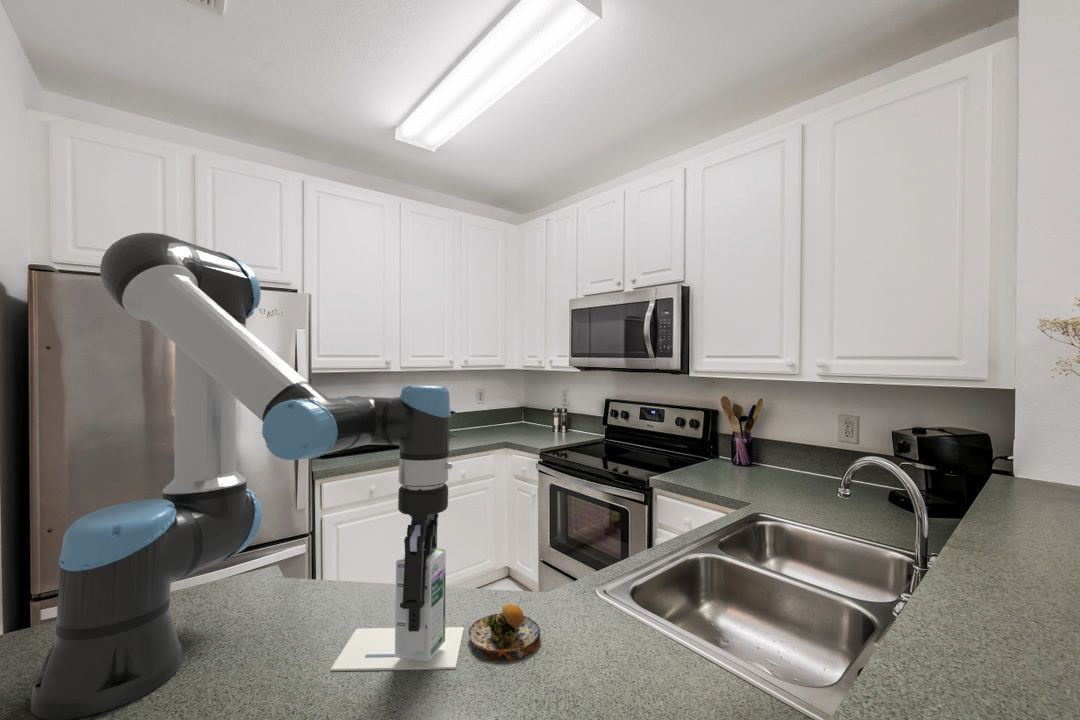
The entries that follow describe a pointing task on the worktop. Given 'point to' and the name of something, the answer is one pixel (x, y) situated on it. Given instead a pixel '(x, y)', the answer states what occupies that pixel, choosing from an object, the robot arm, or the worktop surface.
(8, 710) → the worktop surface
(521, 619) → the salad plate
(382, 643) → the paper
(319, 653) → the worktop surface
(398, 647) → the syrup box
